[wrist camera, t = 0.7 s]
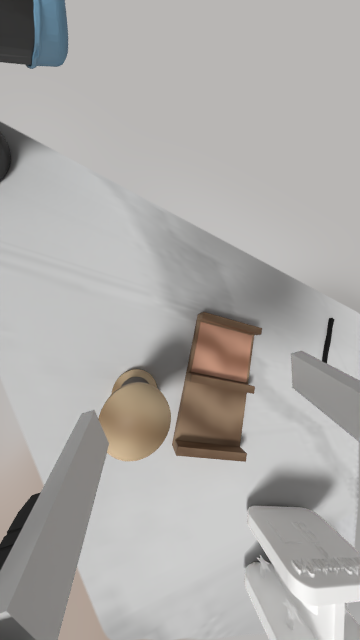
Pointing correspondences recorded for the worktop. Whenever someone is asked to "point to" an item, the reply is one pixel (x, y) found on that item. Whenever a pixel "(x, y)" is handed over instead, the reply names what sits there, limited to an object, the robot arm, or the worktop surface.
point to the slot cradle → (215, 390)
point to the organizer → (302, 576)
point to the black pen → (328, 340)
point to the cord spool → (135, 417)
